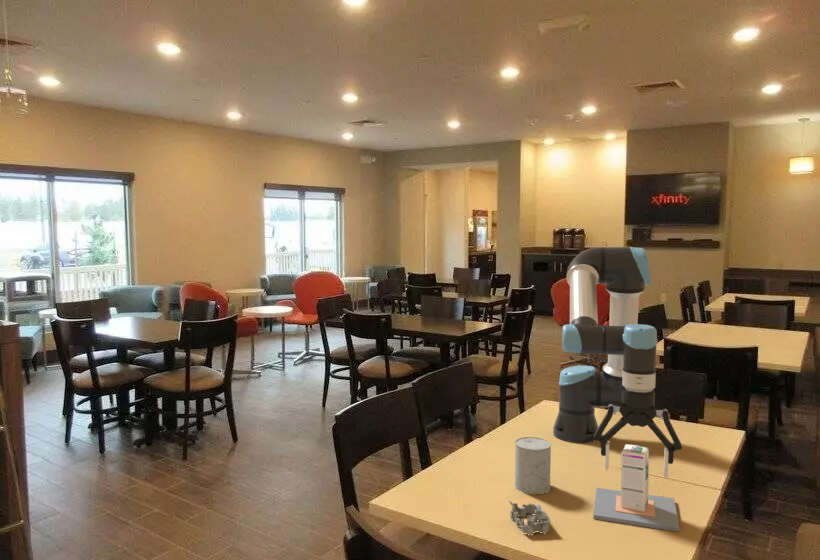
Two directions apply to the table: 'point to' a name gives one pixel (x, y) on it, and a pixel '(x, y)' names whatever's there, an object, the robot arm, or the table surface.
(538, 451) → the grey marbled cylinder
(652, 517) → the board
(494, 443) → the table surface
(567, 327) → the robot arm
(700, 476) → the table surface
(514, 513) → the grey irregular lumpy piece
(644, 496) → the syrup box
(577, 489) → the table surface
